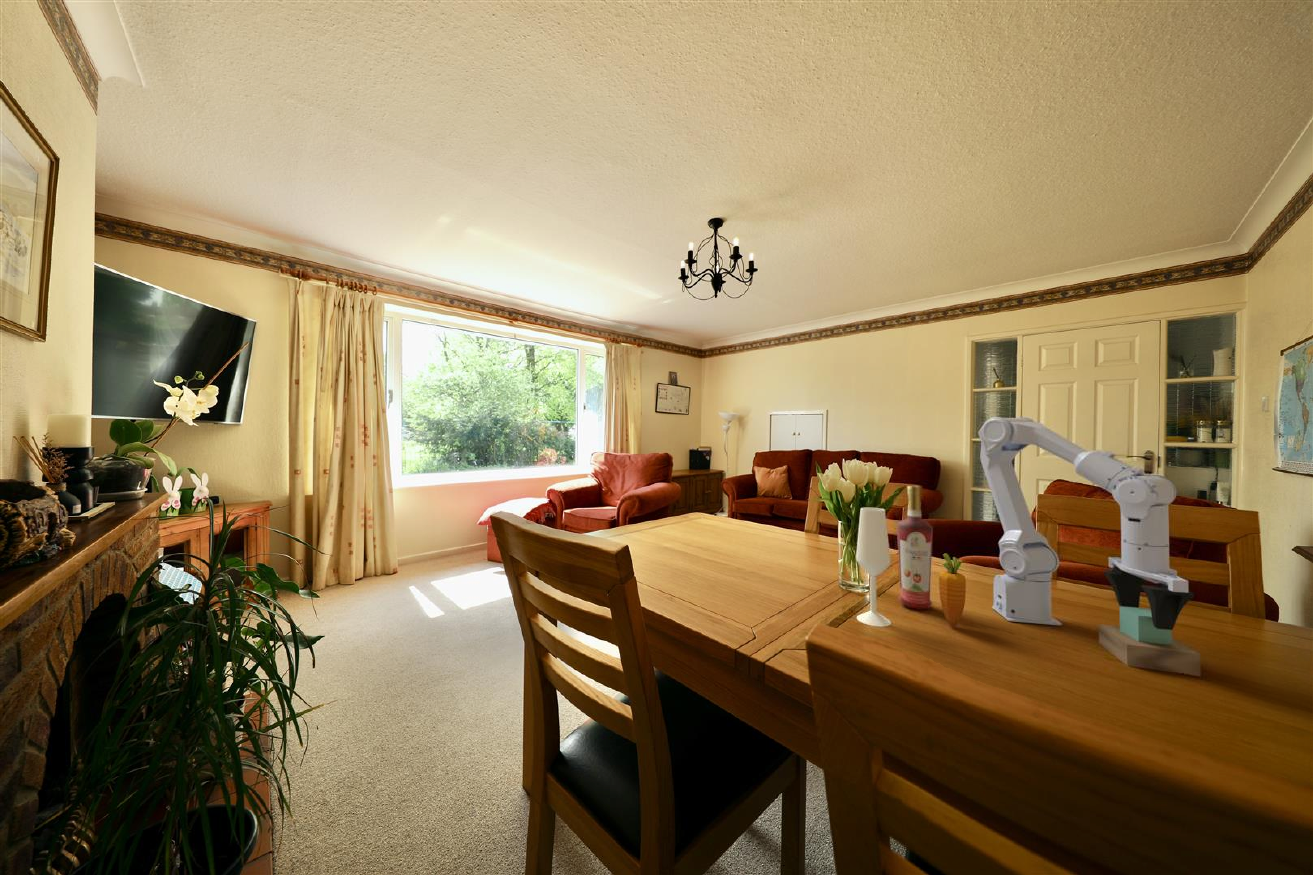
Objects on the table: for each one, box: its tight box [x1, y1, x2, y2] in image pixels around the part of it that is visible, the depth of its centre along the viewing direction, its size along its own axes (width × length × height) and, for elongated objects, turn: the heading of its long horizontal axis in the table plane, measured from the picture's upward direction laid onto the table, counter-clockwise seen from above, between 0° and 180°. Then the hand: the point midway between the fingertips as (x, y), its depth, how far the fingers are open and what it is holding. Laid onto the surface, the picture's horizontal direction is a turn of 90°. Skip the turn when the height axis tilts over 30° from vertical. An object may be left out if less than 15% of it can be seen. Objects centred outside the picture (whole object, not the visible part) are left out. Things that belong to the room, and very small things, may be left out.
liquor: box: [896, 485, 934, 611], centre depth 103 cm, size 7×7×28 cm
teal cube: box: [1119, 606, 1173, 645], centre depth 78 cm, size 4×4×4 cm
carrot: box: [938, 553, 967, 629], centre depth 91 cm, size 5×5×15 cm
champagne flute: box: [855, 506, 892, 628], centre depth 95 cm, size 7×7×24 cm
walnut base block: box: [1098, 624, 1201, 677], centre depth 78 cm, size 9×9×4 cm
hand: (1145, 619), depth 78 cm, fingers open, 7 cm apart
